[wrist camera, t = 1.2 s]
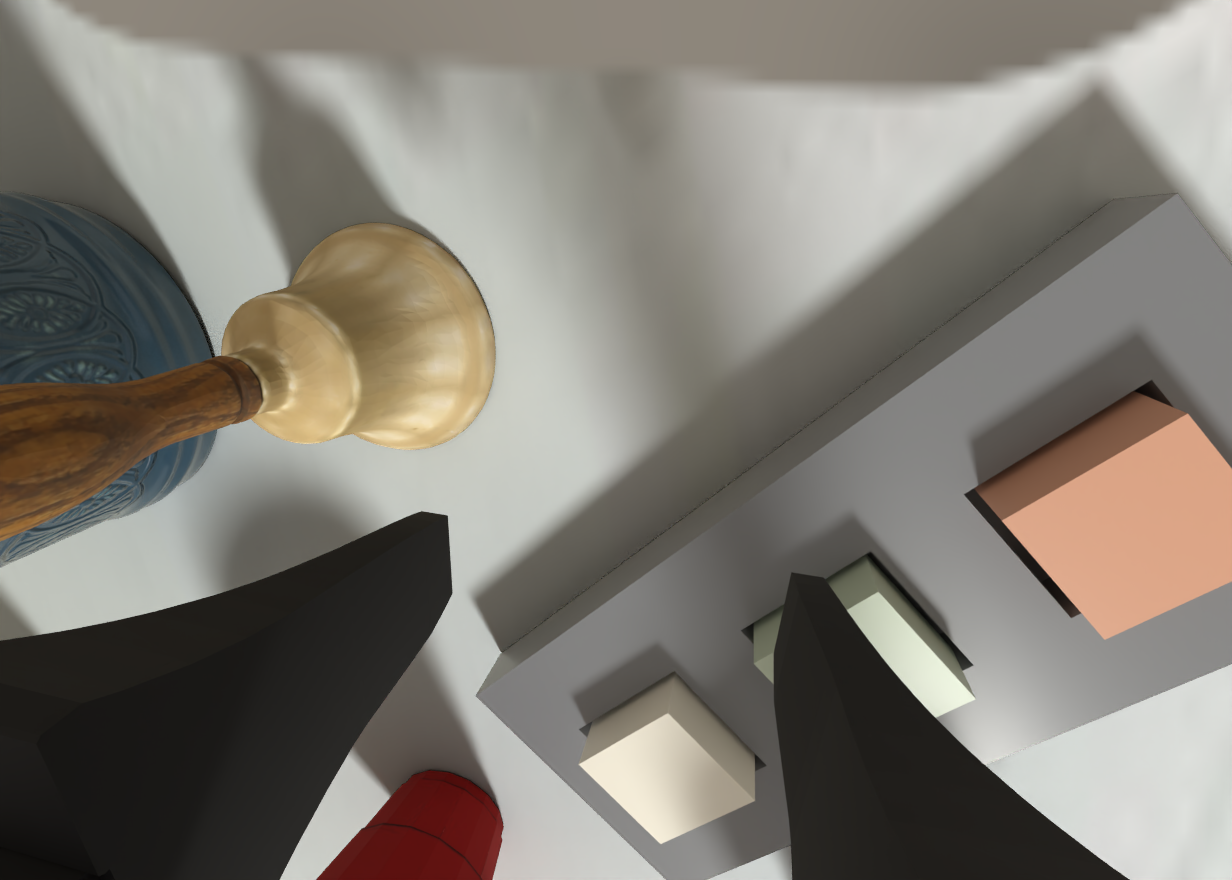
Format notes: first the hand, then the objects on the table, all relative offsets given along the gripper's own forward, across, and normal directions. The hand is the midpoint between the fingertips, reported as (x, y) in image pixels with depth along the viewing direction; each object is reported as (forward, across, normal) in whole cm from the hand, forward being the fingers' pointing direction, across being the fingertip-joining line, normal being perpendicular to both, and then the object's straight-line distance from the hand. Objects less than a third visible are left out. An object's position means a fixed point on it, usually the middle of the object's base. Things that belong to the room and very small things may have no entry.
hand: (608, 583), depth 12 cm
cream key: (+7, -2, +12) cm, 13 cm away
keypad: (+9, -7, +6) cm, 12 cm away
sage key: (+7, -7, +6) cm, 11 cm away
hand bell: (+10, +10, -2) cm, 14 cm away
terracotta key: (+7, -12, 0) cm, 14 cm away
